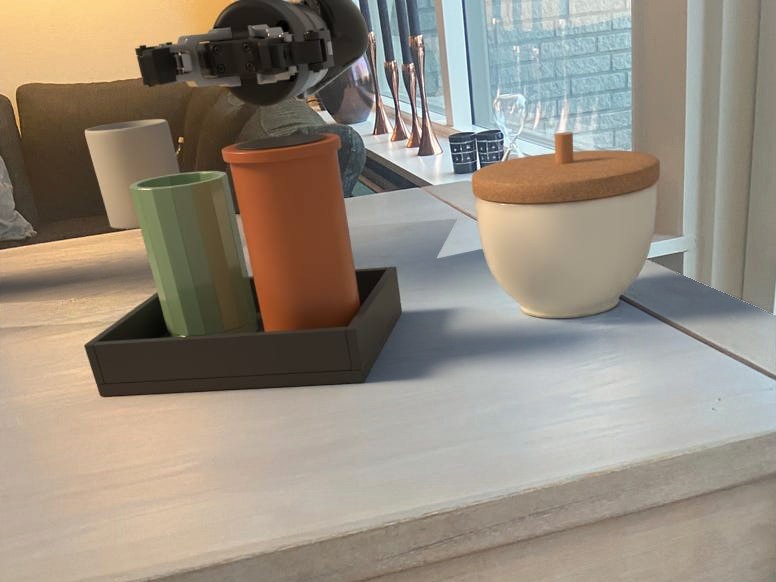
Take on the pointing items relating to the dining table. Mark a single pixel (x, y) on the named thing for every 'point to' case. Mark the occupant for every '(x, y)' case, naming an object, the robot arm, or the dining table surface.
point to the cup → (195, 253)
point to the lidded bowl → (567, 226)
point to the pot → (296, 230)
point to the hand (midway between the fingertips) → (207, 62)
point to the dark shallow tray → (244, 348)
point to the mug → (129, 162)
